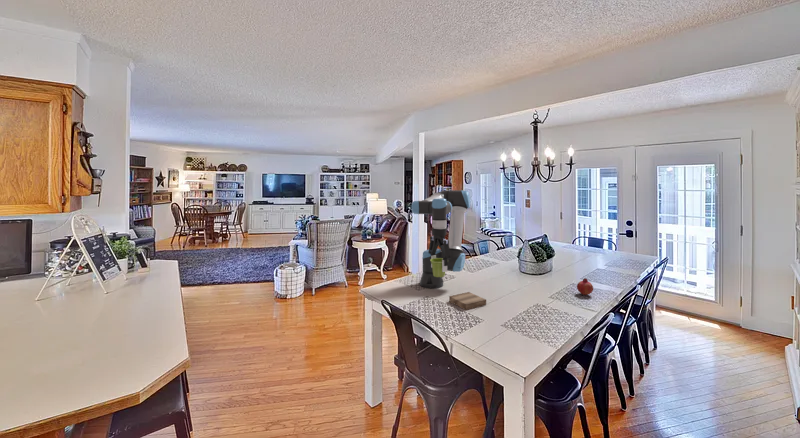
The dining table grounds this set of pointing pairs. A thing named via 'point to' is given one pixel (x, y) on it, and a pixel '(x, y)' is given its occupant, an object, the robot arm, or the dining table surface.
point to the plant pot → (437, 267)
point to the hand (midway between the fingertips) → (439, 269)
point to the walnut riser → (467, 300)
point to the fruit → (585, 287)
